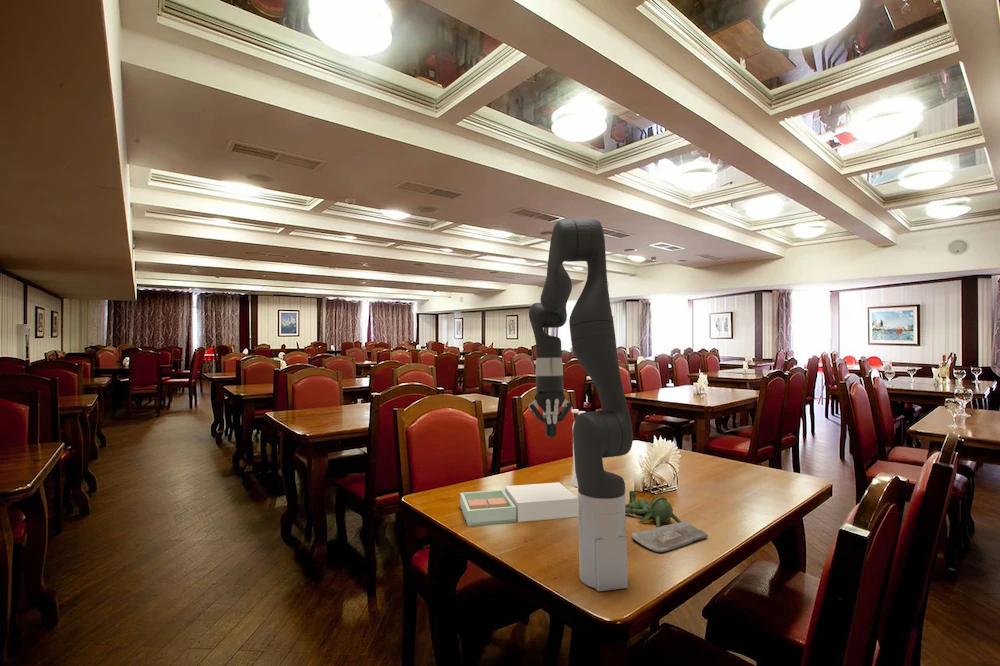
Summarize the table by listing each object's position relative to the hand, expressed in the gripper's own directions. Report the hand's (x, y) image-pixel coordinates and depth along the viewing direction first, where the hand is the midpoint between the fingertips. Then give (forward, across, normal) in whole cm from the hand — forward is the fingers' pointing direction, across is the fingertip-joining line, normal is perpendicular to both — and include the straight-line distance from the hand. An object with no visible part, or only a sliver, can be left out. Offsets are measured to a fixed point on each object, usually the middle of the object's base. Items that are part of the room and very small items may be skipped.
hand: (551, 437), depth 129 cm
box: (+22, -17, +8) cm, 28 cm away
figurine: (+22, +25, -6) cm, 34 cm away
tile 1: (+18, -19, +8) cm, 28 cm away
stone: (+23, +22, -21) cm, 38 cm away
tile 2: (+21, -14, +8) cm, 26 cm away
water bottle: (+21, +20, +27) cm, 39 cm away
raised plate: (+22, -1, +7) cm, 23 cm away
